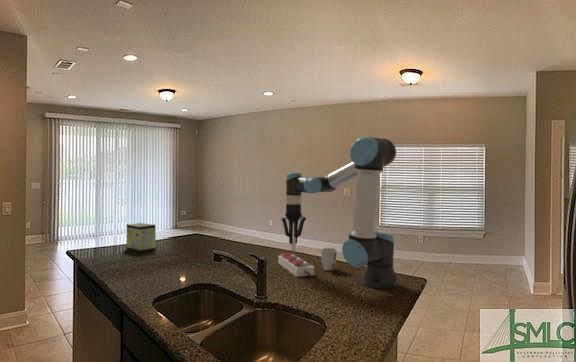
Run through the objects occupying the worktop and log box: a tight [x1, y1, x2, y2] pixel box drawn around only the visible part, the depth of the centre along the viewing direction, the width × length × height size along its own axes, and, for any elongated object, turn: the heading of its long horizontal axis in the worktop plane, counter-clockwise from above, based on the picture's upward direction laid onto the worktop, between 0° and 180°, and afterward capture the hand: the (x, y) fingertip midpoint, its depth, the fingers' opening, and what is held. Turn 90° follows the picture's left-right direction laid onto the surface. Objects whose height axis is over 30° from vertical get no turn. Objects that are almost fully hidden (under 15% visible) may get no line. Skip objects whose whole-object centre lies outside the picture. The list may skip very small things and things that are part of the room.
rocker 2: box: [287, 256, 298, 260], centre depth 203 cm, size 5×4×2 cm
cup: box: [320, 247, 338, 272], centre depth 203 cm, size 8×8×10 cm
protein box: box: [126, 222, 157, 253], centre depth 245 cm, size 10×16×16 cm
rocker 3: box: [292, 261, 303, 264], centre depth 194 cm, size 5×4×2 cm
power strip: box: [277, 254, 315, 277], centre depth 201 cm, size 34×9×4 cm, turn 19°
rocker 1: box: [280, 252, 292, 256], centre depth 211 cm, size 5×4×2 cm
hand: (293, 250), depth 200 cm, fingers closed
